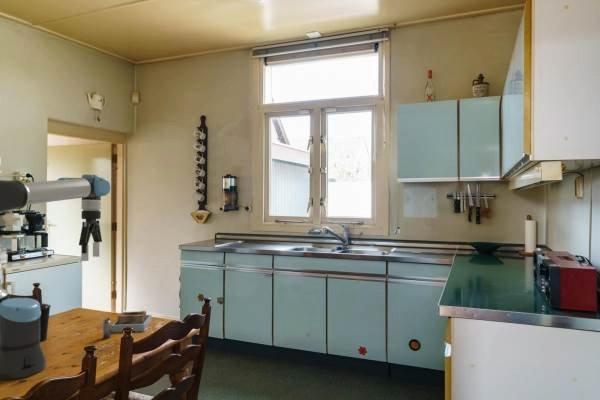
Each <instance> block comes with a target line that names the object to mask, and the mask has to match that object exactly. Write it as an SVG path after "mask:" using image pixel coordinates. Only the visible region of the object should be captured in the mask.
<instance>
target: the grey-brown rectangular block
mask: <svg viewBox="0 0 600 400" xmlns="http://www.w3.org/2000/svg"><path fill="white" fill-rule="evenodd" d="M146 315H147V311H146V310H140V311H139V310H138V311H122V312H121V313H120V314H118V316H117V320H118V325H126V324H143V323H144V322H145V320H146Z"/></svg>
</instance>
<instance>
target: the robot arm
mask: <svg viewBox="0 0 600 400" xmlns="http://www.w3.org/2000/svg"><path fill="white" fill-rule="evenodd" d="M111 188H112V187H111V182H110V181H109V179H107V178H105V177H101V176H100V175H99V174H86V173H85V174H82V175H81V177H60V178H58V179H56V180H41V181H31V182H30V181H27V182H22V180H18V179H16V180H5V179H3V180H2V179H0V213H3V212H9V211H14V210H21V209H24V208H25V207H26V206H28V205H34V204H35V205H36V204H43V203H51V202H58V201H66V200H74V199H81V219H82V220H85V221H82V223H81V224H82V225H81V232H80V238H79V243H78V245H79V246H81V248H80V250H81V251H80V254H81V255H80V258H81V259H80V261H81V262H89V260H90V250H89V249H90V245H89V242H90V239H91V237H92V239H93V242H92V257H94V258H97V257H100V256H101V255H100V252H101V249H100V248H101V243H102V241H103V239H102V232H101V227H100V226H101V225H100V219H101V217H102V216H101V214H102V212H101V209H102V208H101V207H102V204H103V203H102V201H101V200H102V198H101V197H104V196H107V195H108V194H110V192H111ZM2 286H3V285H2V281H1V279H0V381H8V380H17V379H22V378H27V377H30V376H33V375H36V374H38V373H41V372H42V371H43V370H45V368H46V366H47V359H46V356H45V354H44V351H43V349H42V346H41V342H40V320H41V310H40V304H39V300H37V299H35V298H29V297H12V298H10V297H11V296H10V293H9V291H8V290H6V289H4V288H3V287H2Z"/></svg>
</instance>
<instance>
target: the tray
mask: <svg viewBox="0 0 600 400" xmlns="http://www.w3.org/2000/svg"><path fill="white" fill-rule="evenodd" d="M152 320H153V316H152V314H146V320H145V322H144V323H143V324H126V325H118V319H117V320H116V321H115V322H113V324H112V325H111V333H123V332H122V330H123V328H126V327H131V328H133V331H135V332H136V333H137V332H145V331H146V329H148V327H149V326H150V324H151V323H152ZM150 322H151V323H150Z"/></svg>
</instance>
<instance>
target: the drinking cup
mask: <svg viewBox="0 0 600 400" xmlns="http://www.w3.org/2000/svg"><path fill="white" fill-rule="evenodd" d="M38 302H39V304H40V310H41V320H40V343H41V342H45V341H47V335H48V331H49V330H48V327H49V320H50V309H51V307H52V306H51V304H49V303H42V291H41V290H39V291H38Z"/></svg>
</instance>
